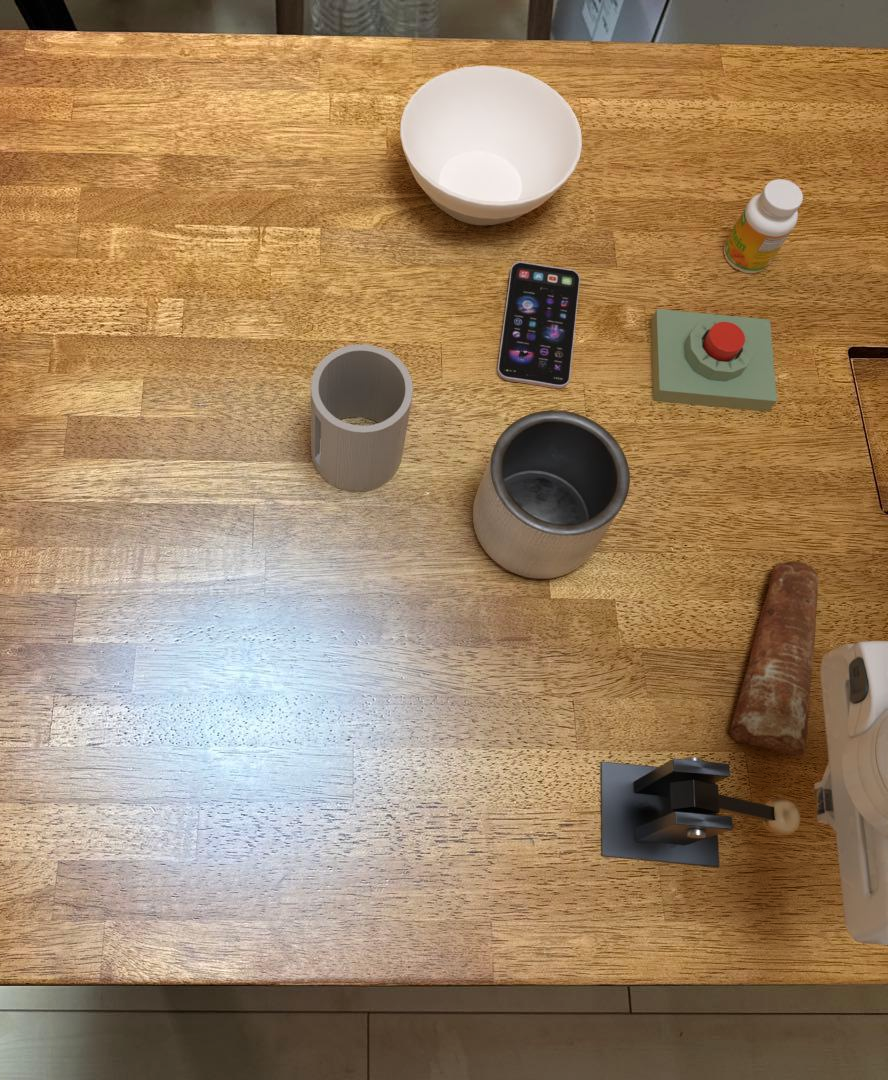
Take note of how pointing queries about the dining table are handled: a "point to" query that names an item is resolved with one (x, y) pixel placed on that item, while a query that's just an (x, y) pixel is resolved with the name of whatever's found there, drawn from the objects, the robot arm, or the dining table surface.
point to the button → (724, 341)
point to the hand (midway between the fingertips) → (825, 804)
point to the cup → (359, 391)
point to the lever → (733, 805)
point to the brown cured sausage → (780, 664)
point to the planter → (549, 493)
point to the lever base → (658, 813)
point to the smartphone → (539, 325)
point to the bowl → (489, 142)
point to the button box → (711, 362)
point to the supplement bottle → (763, 227)
